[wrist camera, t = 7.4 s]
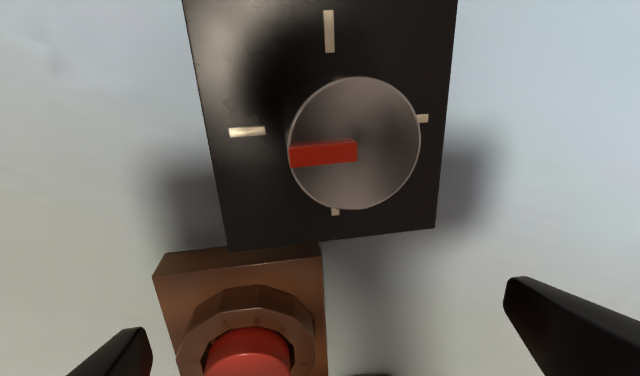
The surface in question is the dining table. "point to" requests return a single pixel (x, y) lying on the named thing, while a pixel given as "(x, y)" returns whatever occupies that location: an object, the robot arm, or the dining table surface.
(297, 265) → the button block
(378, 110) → the knob
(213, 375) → the red push button
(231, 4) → the panel
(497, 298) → the dining table surface
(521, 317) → the robot arm
